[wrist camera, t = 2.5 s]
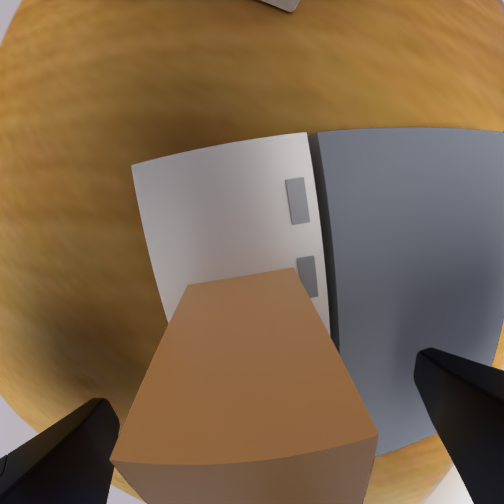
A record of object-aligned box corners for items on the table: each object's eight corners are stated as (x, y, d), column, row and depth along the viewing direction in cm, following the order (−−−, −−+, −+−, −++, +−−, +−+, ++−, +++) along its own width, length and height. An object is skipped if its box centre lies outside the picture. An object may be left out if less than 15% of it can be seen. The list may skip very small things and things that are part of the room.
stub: (324, 447, 11) (357, 572, 4) (233, 461, 11) (232, 588, 4) (295, 139, 8) (449, 44, 1) (150, 167, 8) (-55, 164, 1)
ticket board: (459, 396, 11) (474, 414, 9) (330, 442, 11) (337, 467, 9) (481, 134, 8) (508, 132, 6) (304, 139, 8) (316, 132, 6)
